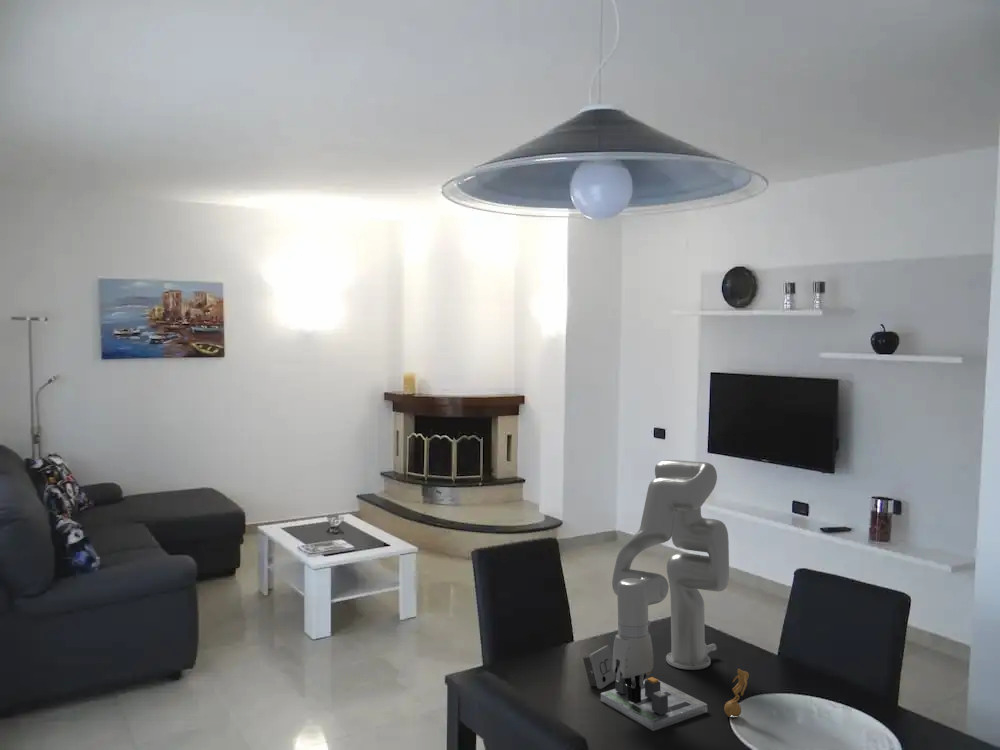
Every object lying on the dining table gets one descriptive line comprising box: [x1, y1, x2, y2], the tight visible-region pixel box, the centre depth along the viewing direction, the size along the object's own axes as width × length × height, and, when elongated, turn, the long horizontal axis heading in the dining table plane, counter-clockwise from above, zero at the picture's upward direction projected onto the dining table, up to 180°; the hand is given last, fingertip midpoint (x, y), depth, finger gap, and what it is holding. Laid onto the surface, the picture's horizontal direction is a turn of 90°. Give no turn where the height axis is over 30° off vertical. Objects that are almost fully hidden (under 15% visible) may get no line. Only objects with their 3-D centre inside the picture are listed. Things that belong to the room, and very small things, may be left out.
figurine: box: [723, 668, 750, 718], centre depth 197 cm, size 8×6×12 cm
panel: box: [600, 678, 708, 732], centre depth 204 cm, size 18×20×2 cm
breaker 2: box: [652, 691, 668, 715], centre depth 196 cm, size 2×3×4 cm
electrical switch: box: [582, 645, 617, 690], centre depth 219 cm, size 9×5×9 cm, turn 141°
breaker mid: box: [644, 676, 660, 699], centre depth 204 cm, size 2×3×5 cm
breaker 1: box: [614, 674, 628, 694], centre depth 208 cm, size 2×3×4 cm
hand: (634, 701), depth 201 cm, fingers closed
